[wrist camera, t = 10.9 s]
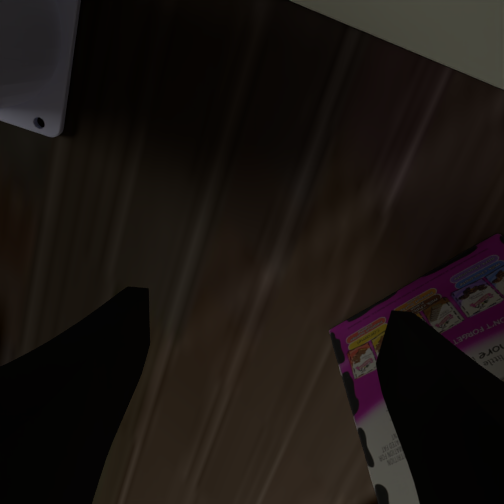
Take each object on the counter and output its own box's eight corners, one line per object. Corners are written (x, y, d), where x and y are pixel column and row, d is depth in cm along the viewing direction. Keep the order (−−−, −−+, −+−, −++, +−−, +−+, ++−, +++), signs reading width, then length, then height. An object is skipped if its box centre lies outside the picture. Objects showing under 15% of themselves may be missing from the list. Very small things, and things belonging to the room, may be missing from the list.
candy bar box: (366, 376, 27) (503, 776, 12) (325, 327, 25) (427, 726, 10) (533, 290, 24) (994, 686, 9) (500, 227, 22) (1008, 593, 7)
